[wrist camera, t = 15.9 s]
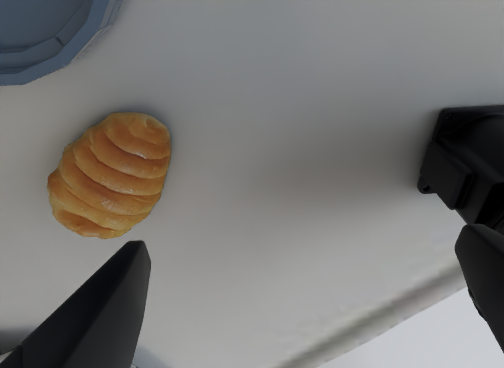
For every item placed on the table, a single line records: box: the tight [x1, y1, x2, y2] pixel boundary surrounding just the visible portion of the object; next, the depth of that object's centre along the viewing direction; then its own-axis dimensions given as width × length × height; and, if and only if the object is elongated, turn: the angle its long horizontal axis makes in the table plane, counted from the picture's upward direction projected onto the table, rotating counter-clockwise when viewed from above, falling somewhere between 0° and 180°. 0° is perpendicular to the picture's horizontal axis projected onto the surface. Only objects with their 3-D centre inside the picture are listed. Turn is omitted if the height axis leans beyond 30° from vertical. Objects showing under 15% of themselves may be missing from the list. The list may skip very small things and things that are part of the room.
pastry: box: [47, 112, 171, 239], centre depth 21 cm, size 9×7×4 cm
